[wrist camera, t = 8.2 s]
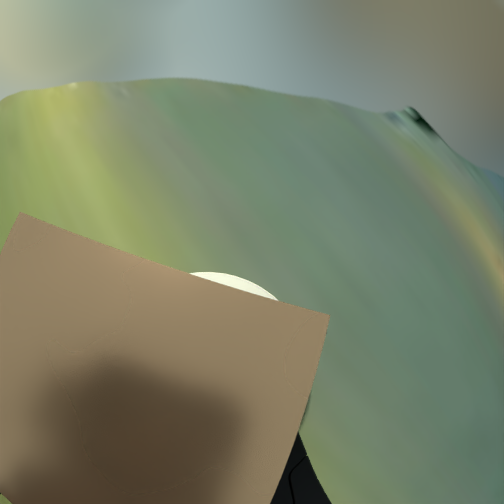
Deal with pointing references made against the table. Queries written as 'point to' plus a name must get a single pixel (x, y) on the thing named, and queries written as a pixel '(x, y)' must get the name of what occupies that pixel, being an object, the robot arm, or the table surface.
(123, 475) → the tan tall block
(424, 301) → the table surface
